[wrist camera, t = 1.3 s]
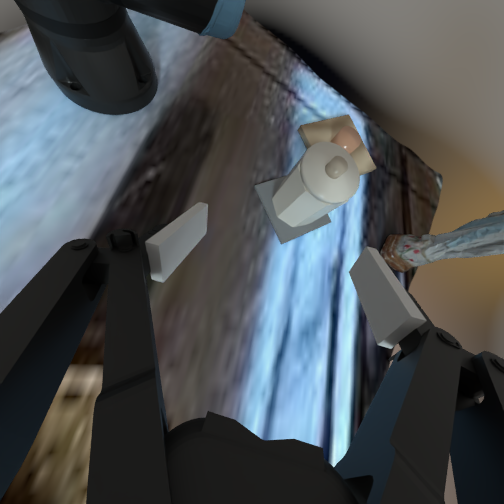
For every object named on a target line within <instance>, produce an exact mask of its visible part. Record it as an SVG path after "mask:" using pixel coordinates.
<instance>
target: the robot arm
mask: <svg viewBox="0 0 504 504" xmlns="http://www.w3.org/2000/svg"><path fill="white" fill-rule="evenodd" d="M14 1H15V2H16V4H17V5H18V7H19V8H20V10H21V11H22V13H23V15H24V17H25V19H26V22H27V24H28V27H29V29H30V32H31V34H32V37H33V39H34V42H35V44H36V47H37V50H38V52H39V55H40V57H41V60H42V62H43V64H44V67H45V68H46V70H47V72H48V74H49V75H50V76H51V78H52V79H53V80H54V82H55V83H56V84H57V86H58V87H59V88H60V90H61V91H62V92H63V93H64V94H65V95H66V96H67V97H68V98H69V99H70V100H72V101H73V102H75V103H76V104H78V105H80V106H82V107H84V108H86V109H88V110H91V111H94V112H98V113H103V114H110V115H121V114H128V113H132V112H135V111H138V110H140V109H142V108H143V107H145V106H146V105H147V104H149V103H150V102H151V100H152V99H153V97H154V96H155V93H156V90H157V78H156V74H155V69H154V65H153V62H152V59H151V57H150V55H149V53H148V51H147V49H146V47H145V45H144V43H143V42H142V40H141V38H140V36H139V34H138V32H137V30H136V28H135V26H134V24H133V23H132V21H131V19H130V17H129V15H128V13H127V10H126V8H128V9H131V10H134V11H136V12H139V13H142V14H145V15H148V16H151V17H153V18H156V19H159V20H162V21H165V22H168V23H170V24H173V25H176V26H179V27H182V28H185V29H187V30H190V31H193V32H196V33H198V34H199V35H200V36H205V35H209V36H213V37H216V38H220V39H227V38H229V37H231V36H232V35H233V34H234V33H235V31H236V29H237V27H238V25H239V22H240V19H241V16H242V12H243V9H244V5H245V1H246V0H14ZM207 214H208V204H205V203H201V202H199V203H197V204H196V205H194V206H193V207H192V208H190V209H189V210H188V211H186V212H185V213H184V214H182V215H181V216H180V217H178V218H177V219H175V220H174V221H173V222H171V223H170V224H169V225H168V224H161V225H158V226H156V227H155V228H153V229H152V230H150V231H149V232H148V233H146V234H144V235H143V236H141V237H140V238H139V239H138V235H137V233H136V231H134V230H131V229H118V230H114V231H111V232H110V233H108V234H107V236H106V238H107V241H108V244H109V247H110V248H98V247H97V245H96V243H95V241H93V240H91V239H76V240H72V241H70V242H67V243H66V244H64V245H63V246H62V247H61V248H60V249H59V250H58V251H57V252H56V254H55V255H54V256H53V257H52V258H51V259H50V260H49V261H48V262H47V263H46V264H45V266H44V267H43V268H42V269H41V270H40V271H39V272H38V273H37V274H36V275H35V276H34V278H33V279H32V280H31V281H30V282H29V283H28V284H27V285H26V286H25V287H24V288H23V290H22V291H21V292H20V293H19V294H18V295H17V296H16V297H15V298H14V299H13V300H12V302H11V303H10V304H9V305H8V306H7V307H6V308H5V309H4V310H3V311H2V312H1V314H0V500H1V498H2V497H3V495H4V494H5V492H6V490H7V489H8V487H9V485H10V484H11V482H12V480H13V479H14V477H15V475H16V474H17V472H18V470H19V469H20V467H21V465H22V463H23V461H24V459H25V457H26V456H27V454H28V452H29V450H30V448H31V446H32V444H33V442H34V440H35V438H36V435H37V433H38V431H39V429H40V427H41V425H42V423H43V420H44V418H45V416H46V414H47V412H48V410H49V408H50V405H51V403H52V401H53V399H54V397H55V395H56V393H57V390H58V388H59V386H60V384H61V382H62V380H63V378H64V375H65V373H66V371H67V369H68V367H69V365H70V362H71V360H72V358H73V356H74V354H75V352H76V350H77V347H78V345H79V343H80V341H81V339H82V337H83V335H84V332H85V330H86V328H87V326H88V324H89V322H90V320H91V317H92V315H93V313H94V311H95V309H96V307H97V305H98V302H99V300H100V298H101V296H102V294H103V292H104V290H105V287H106V285H107V284H108V299H107V316H106V332H105V349H104V366H103V383H102V390H101V393H100V394H99V395H98V397H97V399H96V402H95V407H94V414H93V426H92V439H91V451H90V463H89V475H88V488H87V500H86V504H445V501H444V491H445V483H446V475H447V469H448V461H449V453H450V456H451V463H452V469H453V475H454V482H455V488H456V495H457V501H458V504H504V359H502V358H500V357H498V356H497V355H495V354H492V353H490V352H487V351H483V352H481V353H479V354H478V355H474V354H472V353H470V352H468V351H466V350H464V349H462V346H461V345H460V343H459V342H458V341H457V340H456V339H455V338H454V337H453V336H452V335H450V334H449V333H448V332H446V331H444V330H443V329H440V328H438V327H435V326H434V325H433V324H432V322H431V321H430V319H429V318H428V316H427V315H426V314H425V312H424V311H423V310H422V309H421V307H420V305H419V304H418V303H417V301H416V300H415V299H414V297H413V296H412V295H411V294H410V293H409V292H408V291H407V290H406V289H404V288H403V286H402V285H401V284H400V282H399V281H398V279H397V278H396V277H395V275H394V274H393V272H392V271H391V269H390V268H389V267H388V265H387V264H386V262H385V261H384V260H383V258H382V257H381V255H380V254H379V252H378V251H377V250H376V249H374V248H371V247H367V246H366V248H365V249H364V251H363V252H362V253H361V255H360V256H359V258H358V259H357V261H356V262H355V264H354V265H353V267H352V268H351V270H350V271H349V273H350V276H351V279H352V281H353V284H354V286H355V289H356V291H357V294H358V296H359V299H360V301H361V304H362V306H363V309H364V311H365V314H366V316H367V319H368V322H369V324H370V327H371V329H372V332H373V334H374V337H375V339H376V342H377V344H378V345H380V346H383V347H387V348H390V349H391V348H393V347H394V346H395V345H396V344H398V343H399V345H400V347H401V349H402V350H400V351H399V352H398V353H396V354H395V355H393V356H392V357H391V358H389V360H390V361H391V360H393V362H392V364H391V366H390V368H389V370H388V372H387V374H386V376H385V378H384V380H383V382H382V384H381V386H380V388H379V390H378V392H377V394H376V395H375V397H374V399H373V401H372V403H371V405H370V407H369V409H368V411H367V413H366V415H365V417H364V419H363V421H362V423H361V425H360V427H359V429H358V431H357V433H356V435H355V437H354V439H353V441H352V443H351V445H350V447H349V449H348V451H347V453H346V454H345V456H344V457H343V458H342V459H341V460H340V461H339V462H338V463H337V464H336V466H335V467H333V466H332V465H331V464H330V463H328V462H327V461H326V460H325V459H324V456H323V448H321V447H318V446H315V445H311V444H308V443H305V442H302V441H299V440H296V439H283V440H267V441H266V440H262V439H260V438H259V437H258V436H256V435H255V434H254V433H252V432H251V431H249V430H248V429H247V428H245V427H244V426H243V425H241V424H240V423H239V422H237V421H236V420H234V419H231V418H228V417H224V416H221V415H218V414H215V413H212V412H209V411H208V412H207V415H206V418H197V419H193V420H190V421H187V422H184V423H182V424H180V425H179V426H177V427H175V428H174V429H172V430H171V431H170V432H168V425H167V418H166V411H165V406H164V400H163V393H162V386H161V379H160V372H159V365H158V358H157V351H156V344H155V337H154V329H153V322H152V315H151V308H150V301H149V294H148V287H147V280H146V276H147V275H148V274H149V273H151V278H152V279H153V280H156V281H159V282H163V283H164V281H165V280H166V279H167V278H168V277H169V276H170V275H171V273H172V272H173V271H174V270H175V269H176V268H177V266H178V265H179V264H180V263H181V262H182V261H183V260H184V258H185V257H186V256H187V255H188V254H189V253H190V251H191V250H192V249H193V248H194V247H195V246H196V245H197V243H198V242H199V241H200V240H201V239H202V238H203V236H204V235H205V234H206V232H207ZM483 396H484V400H483V401H482V402H481V403H479V399H478V398H480V397H483Z"/></svg>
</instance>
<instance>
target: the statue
mask: <svg viewBox="0 0 504 504" xmlns="http://www.w3.org/2000/svg"><path fill="white" fill-rule="evenodd" d="M496 254H504V210H503V211H501V212H493V213H491V214H489V215H488V216H487V217H486V218H482V219H476V220H474V221H471V222H469V223H467V224H465V225H463V226H461V227H459V228H458V229H456V230H454V231H452V232H450V233H444V234H439V235H437V236H435V235H430V234H428V235H423V236H422V237H417V236H414V235H411V234H410V235H404V234H397V235H396V234H392V235H389V236H388V237H387V239H386V241H385V243H384V245H383V247H382V249H381V252H380V255H381V257H382V258H383V260H384V261H385V262H386V263H387V264H388V265H389V266H390V267H392V268H393V269H394V270H396V271H398V272H401V273H403V272H406V271H408V270H410V269H413V268H414V267H416V266H420V265H424V264H428V263H431V262H434V261H436V260H441V259H447V258H456V257H460V258H469V257H480V256H488V255H496Z"/></svg>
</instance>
